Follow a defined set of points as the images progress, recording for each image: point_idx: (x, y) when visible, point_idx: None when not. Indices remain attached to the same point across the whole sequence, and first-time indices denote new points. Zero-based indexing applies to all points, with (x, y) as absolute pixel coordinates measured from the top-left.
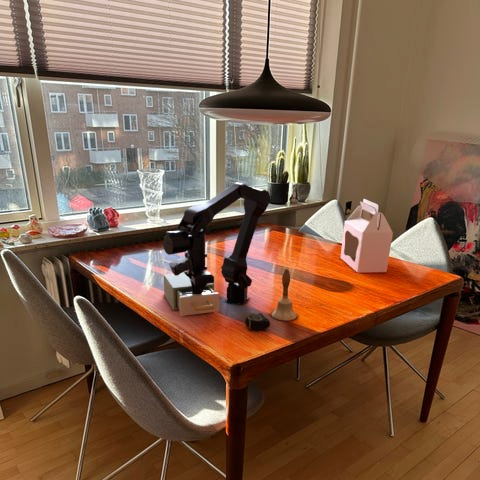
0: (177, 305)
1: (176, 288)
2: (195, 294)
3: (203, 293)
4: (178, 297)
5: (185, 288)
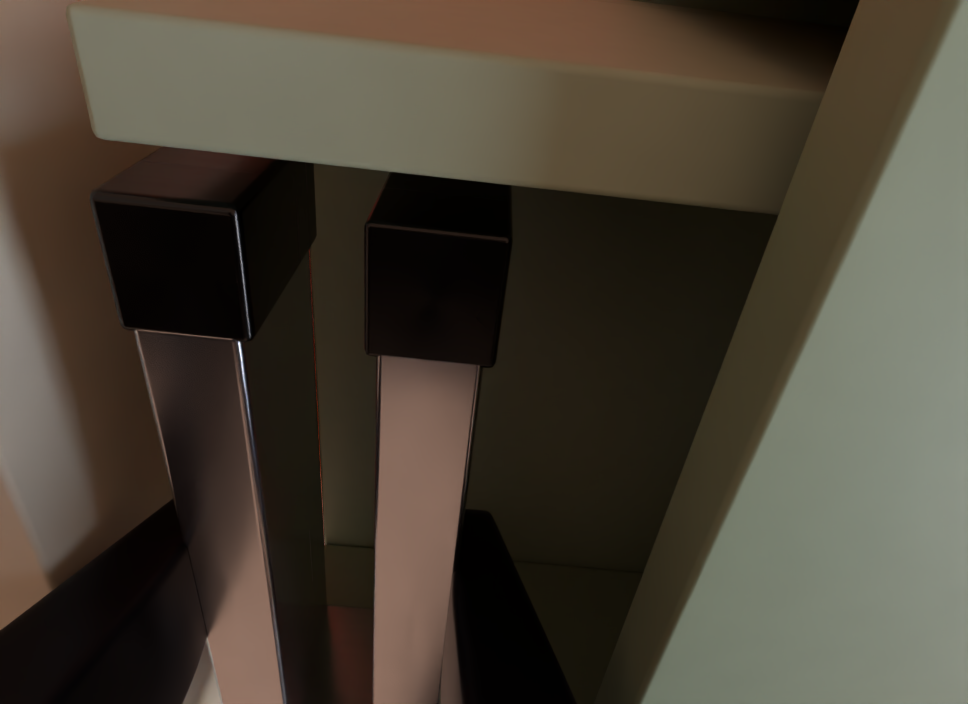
0: (652, 5)
1: (873, 82)
2: (182, 537)
3: (223, 681)
4: (519, 20)
5: (680, 479)
